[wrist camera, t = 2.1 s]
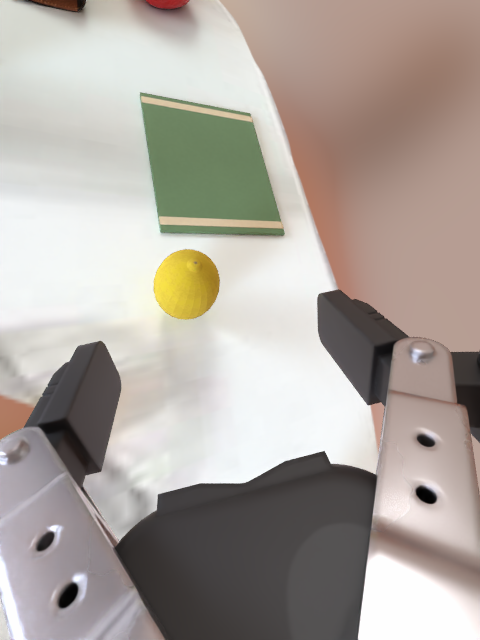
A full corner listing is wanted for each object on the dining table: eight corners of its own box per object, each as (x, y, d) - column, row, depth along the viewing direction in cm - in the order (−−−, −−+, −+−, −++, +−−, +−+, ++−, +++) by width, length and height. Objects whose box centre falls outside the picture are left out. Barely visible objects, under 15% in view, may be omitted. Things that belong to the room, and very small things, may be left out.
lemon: (209, 284, 31) (232, 241, 24) (204, 334, 29) (228, 302, 22) (155, 273, 30) (163, 224, 23) (146, 325, 28) (152, 288, 21)
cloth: (160, 232, 31) (161, 229, 31) (139, 95, 37) (140, 91, 37) (283, 235, 37) (285, 233, 37) (249, 116, 43) (250, 113, 42)
